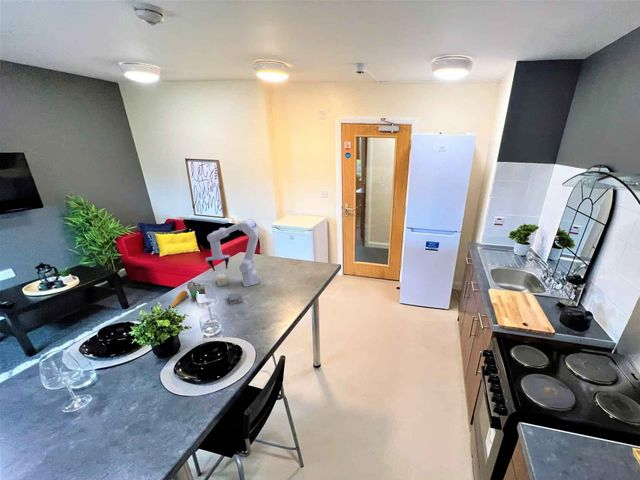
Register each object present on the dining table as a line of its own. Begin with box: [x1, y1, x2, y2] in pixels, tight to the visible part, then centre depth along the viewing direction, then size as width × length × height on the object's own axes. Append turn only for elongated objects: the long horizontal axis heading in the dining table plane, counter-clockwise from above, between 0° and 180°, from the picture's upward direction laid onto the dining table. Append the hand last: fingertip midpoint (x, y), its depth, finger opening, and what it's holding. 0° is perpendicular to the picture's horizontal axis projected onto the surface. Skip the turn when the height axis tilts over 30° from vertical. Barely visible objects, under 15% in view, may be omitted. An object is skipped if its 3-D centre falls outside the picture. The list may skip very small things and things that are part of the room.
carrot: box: [170, 290, 189, 308], centre depth 170 cm, size 20×4×4 cm, turn 3°
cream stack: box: [216, 275, 229, 287], centre depth 196 cm, size 6×9×3 cm, turn 30°
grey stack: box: [227, 292, 242, 305], centre depth 175 cm, size 6×9×3 cm, turn 30°
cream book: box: [216, 273, 227, 282], centre depth 195 cm, size 5×8×2 cm, turn 30°
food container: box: [186, 280, 207, 302], centre depth 174 cm, size 12×6×10 cm, turn 62°
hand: (220, 269), depth 194 cm, fingers open, 7 cm apart
